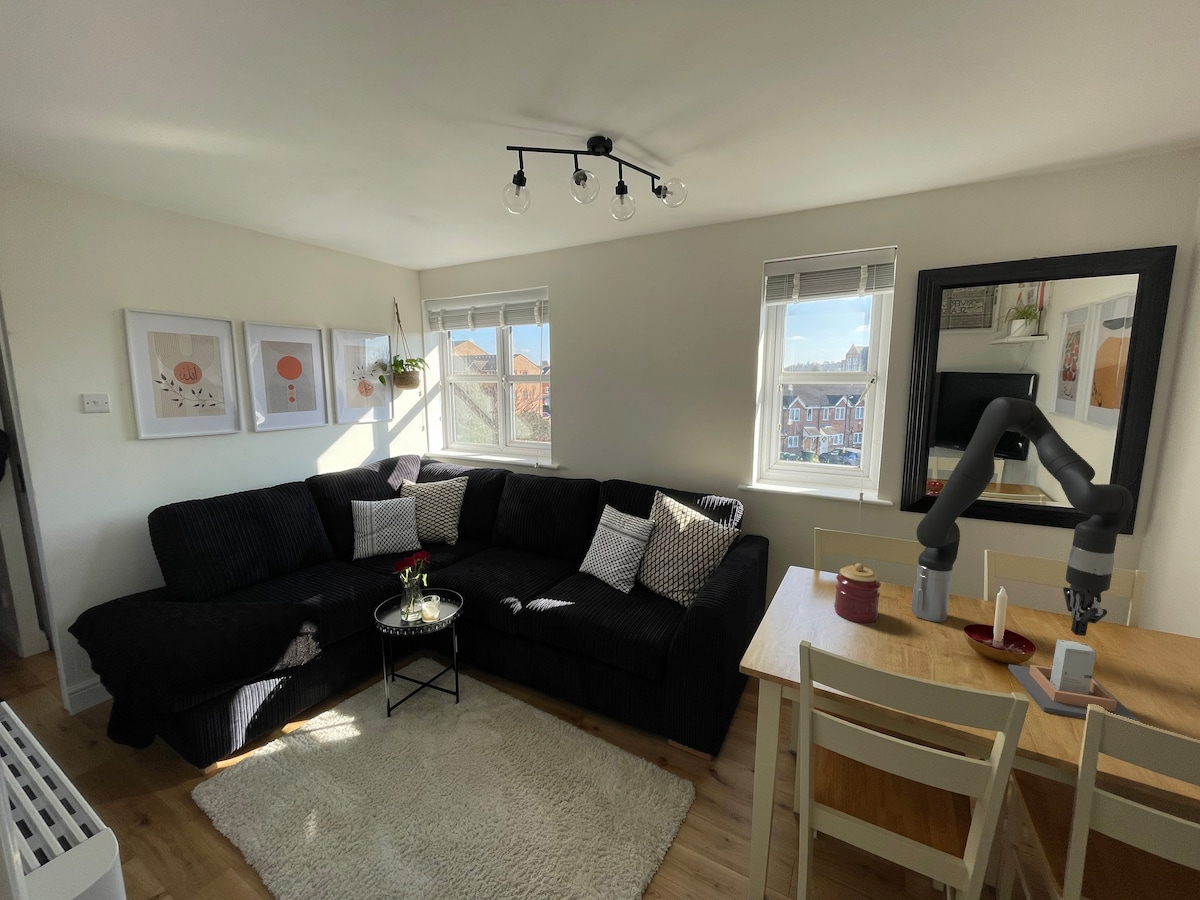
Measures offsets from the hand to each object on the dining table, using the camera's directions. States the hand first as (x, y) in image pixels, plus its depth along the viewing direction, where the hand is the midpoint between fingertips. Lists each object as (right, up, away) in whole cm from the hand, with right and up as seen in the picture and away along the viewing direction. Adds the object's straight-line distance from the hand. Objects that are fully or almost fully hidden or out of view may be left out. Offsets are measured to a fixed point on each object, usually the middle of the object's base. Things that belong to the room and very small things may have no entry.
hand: (1078, 633), depth 119 cm
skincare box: (0, -15, +3) cm, 16 cm away
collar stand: (0, -16, +3) cm, 17 cm away
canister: (-31, -10, +44) cm, 55 cm away
